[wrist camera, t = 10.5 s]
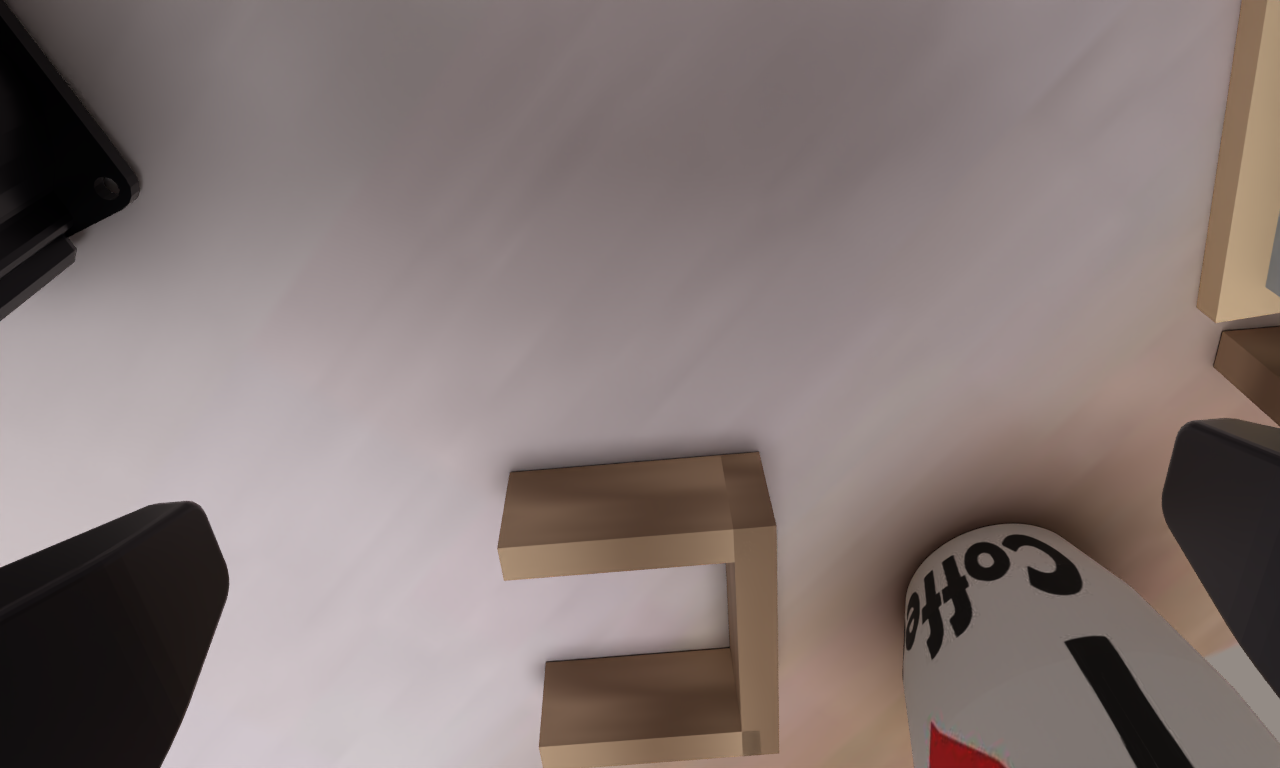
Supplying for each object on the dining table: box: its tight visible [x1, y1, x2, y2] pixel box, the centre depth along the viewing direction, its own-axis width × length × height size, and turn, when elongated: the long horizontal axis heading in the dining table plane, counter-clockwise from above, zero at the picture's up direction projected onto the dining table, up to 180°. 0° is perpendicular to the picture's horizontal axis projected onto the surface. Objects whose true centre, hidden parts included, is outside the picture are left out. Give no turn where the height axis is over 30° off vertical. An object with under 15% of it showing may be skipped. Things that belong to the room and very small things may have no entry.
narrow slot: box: [497, 452, 779, 768], centre depth 25 cm, size 6×8×3 cm
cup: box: [902, 524, 1280, 768], centre depth 23 cm, size 8×8×10 cm
